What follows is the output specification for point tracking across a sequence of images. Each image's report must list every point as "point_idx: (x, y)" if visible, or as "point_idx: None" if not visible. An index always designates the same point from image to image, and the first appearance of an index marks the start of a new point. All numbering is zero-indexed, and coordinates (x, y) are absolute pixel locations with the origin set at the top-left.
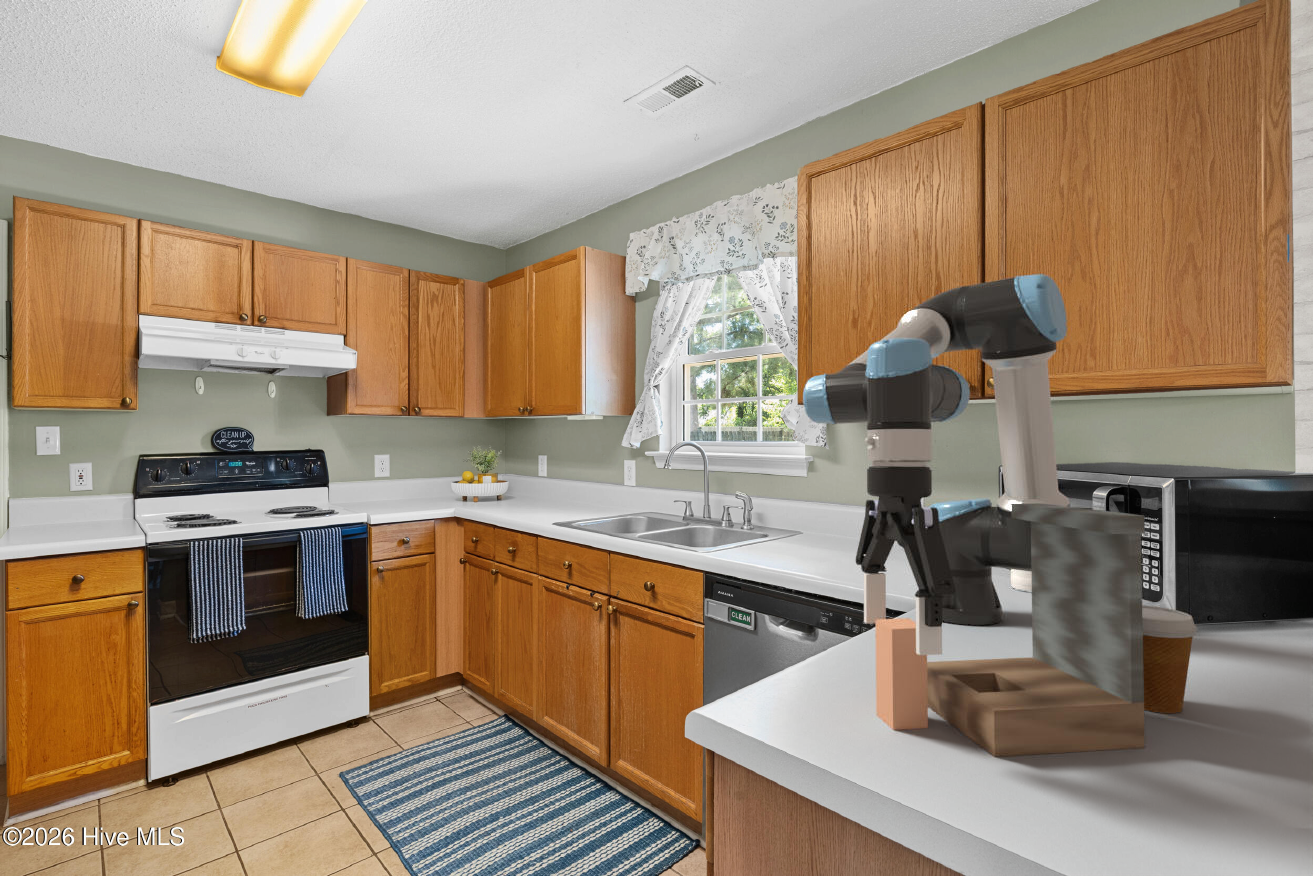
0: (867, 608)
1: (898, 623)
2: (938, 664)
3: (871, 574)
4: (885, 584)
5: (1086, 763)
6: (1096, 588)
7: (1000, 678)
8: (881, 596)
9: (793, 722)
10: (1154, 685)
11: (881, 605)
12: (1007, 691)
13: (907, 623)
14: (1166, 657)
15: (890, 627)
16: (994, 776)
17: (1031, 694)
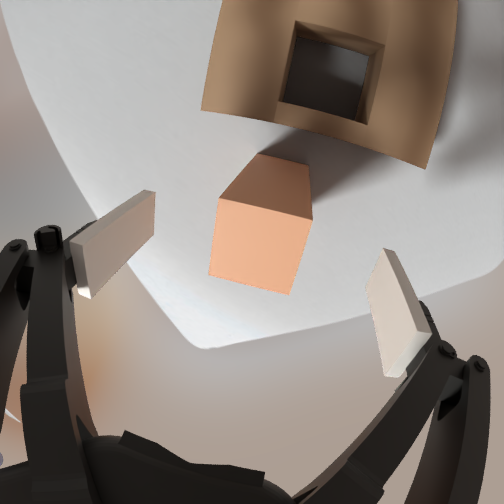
0: (137, 247)
1: (253, 252)
2: (221, 81)
3: (88, 285)
4: (102, 231)
5: None
6: None
7: (314, 25)
8: (122, 227)
9: (237, 297)
10: None
11: (134, 217)
12: (379, 76)
13: (262, 235)
14: None
15: (276, 289)
16: (428, 196)
17: (402, 56)
